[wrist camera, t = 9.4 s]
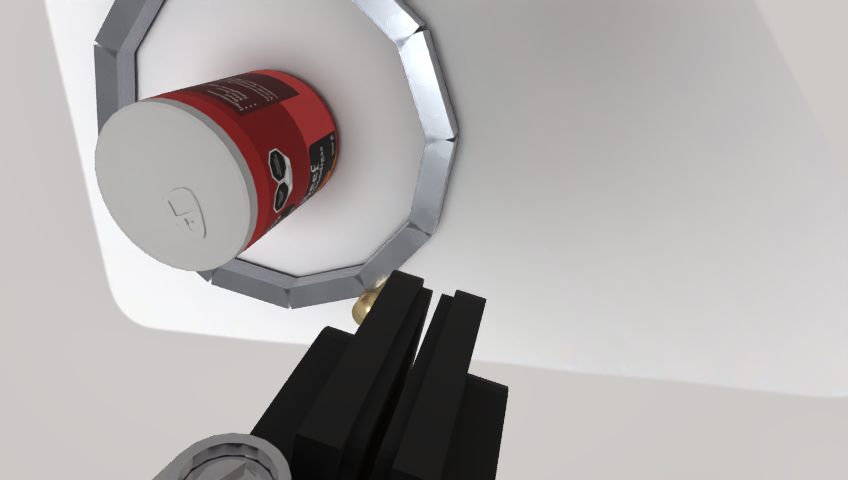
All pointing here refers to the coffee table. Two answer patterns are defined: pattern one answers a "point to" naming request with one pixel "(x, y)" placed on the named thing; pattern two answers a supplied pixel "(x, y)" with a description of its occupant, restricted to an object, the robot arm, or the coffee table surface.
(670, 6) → the coffee table surface
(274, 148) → the canned food
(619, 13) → the coffee table surface
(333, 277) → the ring
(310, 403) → the robot arm
